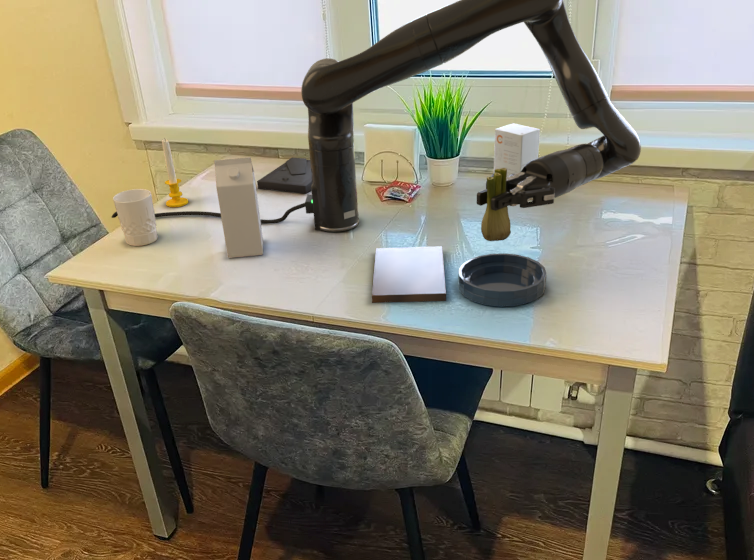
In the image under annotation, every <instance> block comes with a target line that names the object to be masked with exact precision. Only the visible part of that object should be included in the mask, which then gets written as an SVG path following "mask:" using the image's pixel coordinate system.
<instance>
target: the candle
mask: <svg viewBox="0 0 754 560" xmlns="http://www.w3.org/2000/svg"><path fill="white" fill-rule="evenodd" d="M161 144H162V151H163V156H164V160H165V166H166V171H167V177H168V179H167V180H165V181H164V184H165V185H167V186H168V187H169V193H168V198H169V199H168V200H167V201H166V202H165V205H166V206H167V207H168V208H180V207H184V206H186V205H188V204H189V199H188V198H186V197H182V196H183V191H180V186H179V184H180V183H182V179H181V178H177V175H176V171H175V165H174V160H173V155H172V150H171V145H170V141H169V140H168V139H166V138H163V139H162V140H161Z"/></svg>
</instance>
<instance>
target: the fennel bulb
mask: <svg viewBox="0 0 754 560" xmlns="http://www.w3.org/2000/svg"><path fill="white" fill-rule="evenodd" d="M493 173H494V172H493ZM506 177H507V169H506V168H501V169H495V173H494V177H491V176H487V177H486V181H487V204H486V208H485V211H484V214H483V217H482V219H481V225H480V226H481V227H480V231H481V234H482V237H483V239H484V240H485V241H487V242H499V241H505V240H507V239H508V238H509V237H510V235H511V234H512V230H511V225H512V224H511V220H510V216H509V208H508V207H509V206H507V207H504V208H501V209H499V210H496V211H494V210H492V209H491V199H492V198H493V197H494V196H497V195H499V194H502V193H505V192H506Z"/></svg>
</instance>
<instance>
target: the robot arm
mask: <svg viewBox="0 0 754 560" xmlns="http://www.w3.org/2000/svg"><path fill="white" fill-rule="evenodd" d="M521 23H524V25H525V27H526V28H527V30H529V32H530V33H531V35H532V36H533V38H534V39H535V41H536V42H537V44H538V45H539V48H540V49H541V51H542V53H543V55H544V56H545V59H546V61H547V63H548V65H549V67H550V69H551V72H552V74H553V76H554V79H555V81H556V83H557V86H558V88H559V91H560V93H561V95H562V98H563V100H564V102H565V105H566V107H567V108H568V110H569V112H570V115H571V116H572V119H573V121H574V124H575V125H576V127H577V128H578V129H581V130H587V129H591V128H595V129H597V130H598V131H599V132H600V133H601V134H602V136H600V137H598V138H596V139H594V140H592V141H590V142H587V143H581V144H577V145H573V146H571V147H569V148H565V149H562V150H556V151H553V152H550V153H548V154H545V155H543V156H542V155H541V156H540V157H538V158H537V159H534V160H532V161H530V162H528V163H527V164H526V165H525V166H524V168H523V169H522V171H521V172H519V173H515V174H511V175H510V176H509V177H506V192H505V193H502V194H499V195H497V196H494V197H493V198H492V199H491V209H492V210H494V211H496V210H499V209H501V208H504V207H517V206H518V205H519V208H521V209H527V208H533V207H541V206H548V205H553V204H555V199H556V198H558V197H560V196H563V195H566V194H568V193H570V192H572V191H574V190H575V189H577V188H579V187H581V186H584V185H586V184H589V183H590V182H593V181H595V180H598V179H601V178H604V177H606V176H609V175H611V174H613V173H616V172H618V171H620V170H622V169H624V168H626V167H628V166H632V165H633V164H635V162H637V160H638V159H639V158H640V155H641V151H642V145H641V140H640V137H639V134H638V133H637V131H636V130H635V129H634V128H633V127H632V126H631V124H630V123H629V122H628V121H627V120H626V119H625V117H624V115H622V114H621V112H619V110H618V109H617V108H616V107H615V106H614V104H613V103H612V102H611V99H610V97H609V94H608V92H607V90H606V88H605V86H604V84H603V82H602V80H601V78H600V76H599V73H598V72H597V71H596V68H595V66H594V65H593V63H592V62H591V60H590V58H589V57H588V55H587V54H586V52H585V50H584V49H583V47H582V45H581V44H580V42H579V40H578V38H577V36H576V35H575V32H574V30H573V27H572V24H571V22H570V20H569V15H568V13H567V9H566V6H565V1H564V0H457V1H455V2H452V3H449V4H447V5H444V6H442V7H440V8H438V9H435V10H433V11H430V12H427V13H426V14H424V15H421V16H419V17H416V18H415V19H413V20H411V21H408V22H406V23H405V24H402V25H401V26H399V27H397V28H396V29H394V30H393V31H391V32H390V33H388V34H386V35H385V36H384V37H382V38H381V39H380V40H378V41H377V42H375V43H374V44H373V45H371V46H369V47H368V48H367V49H365V50H363V51H362V52H360V53H357V54H355V55H352V56H350V57H348V58H345V59H343V60H337V59H334V58H329V57H327V58H322V59H319V60H316V61H315V62H313V64H311V66H310V67H309V69H308V70H307V72H306V74H305V76H304V78H303V80H302V84H301V88H300V90H301V91H300V94H301V99H302V100H301V101H302V102H303V103H304V104H303V105H305V107H306V108H307V115H308V116H307V117H308V121H307V122H308V125H307V126H308V129H307V140H308V151H309V160H310V163H311V174H312V186H311V190H310V192H311V194H307V195H306V198H305V201H304V202H302V203H300V204H297V205H294V206H292V207H290V208H288V209H287V210H286V211H285V212H284V214H283V215H282V216H281V217H279V218H274V219H261V218H260V220H261V225H262V224H263V225H266V224H271V225H272V224H279V223H282V222H284V221H285V220H286V219H287V218H288V217H289V215H290V214H291V213H293V212H295V211H298V210H300V209H304V208H305V214H313V221H314V223H313V225H314V230H316V231H323V232H327V233H328V232H329V233H340V232H346V231H350V230H352V229H354V228H356V227H357V226H359V224H360V218H359V203H358V190H357V188H358V187H357V172H356V157H355V156H356V154H355V138H354V136H355V135H354V132H355V131H354V129H355V122H354V103H355V102H357V101H359V100H361V99H362V98H364V97H366V96H368V95H369V94H370V95H371V94H372V93H373V92H375V91H378V90H380V89H383V88H385V87H388V86H391V85H394V84H397V83H399V82H402V81H405V80H408V79H410V78H413V77H415V76H417V75H420V74H423V73H426V72H428V71H430V70H433V69H434V68H437V67H440V66H441V65H443V64H446V63H448V62H450V61H452V60H454V59H455V58H458V56H460V55H462V54H464V53H465V52H467V51H468V50H470V49H472V48H473V47H474V46H476V45H478V44H479V43H480V42H482V41H483V40H485V39H486V38H488V37H490V36H491V35H493V34H495V33H498V32H499V31H502V30H505V29H507V28H510V27H514V26H517V25H519V24H521ZM494 173H495V172H494V171H493V173H492V174H491V175H490V177H494ZM476 205H477V206H484V205H487V180H485V189H483V190H480V191H478V192H477V193H476ZM178 216H205V217H215V218H221V213H220V212H214V211H202V210H201V211H197V210H195V211H193V210H191V211H190V210H188V211H186V210H185V211H183V210H182V211H167V212H166V211H165V212H158V213H155V218H163V217H178ZM117 217H118V214H117V211H115V212H113V214H112V215H111V219H115V218H117Z"/></svg>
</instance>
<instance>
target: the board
mask: <svg viewBox="0 0 754 560" xmlns="http://www.w3.org/2000/svg"><path fill="white" fill-rule="evenodd" d="M443 251H444V250H443V245H437V246H435V245H434V246H406V247H405V246H404V247H376V248H375V253H374V254H375V255H374V264H373V265H374V266H373V276H372V286H371V287H372V288H371V303H372V304H376V303H377V304H379V303H381V304H382V303H384V304H385V303H415V302H423V303H424V302H446V301H447V288H446V278H445V277H446V275H445V274H446V273H445V262H444V252H443Z"/></svg>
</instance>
